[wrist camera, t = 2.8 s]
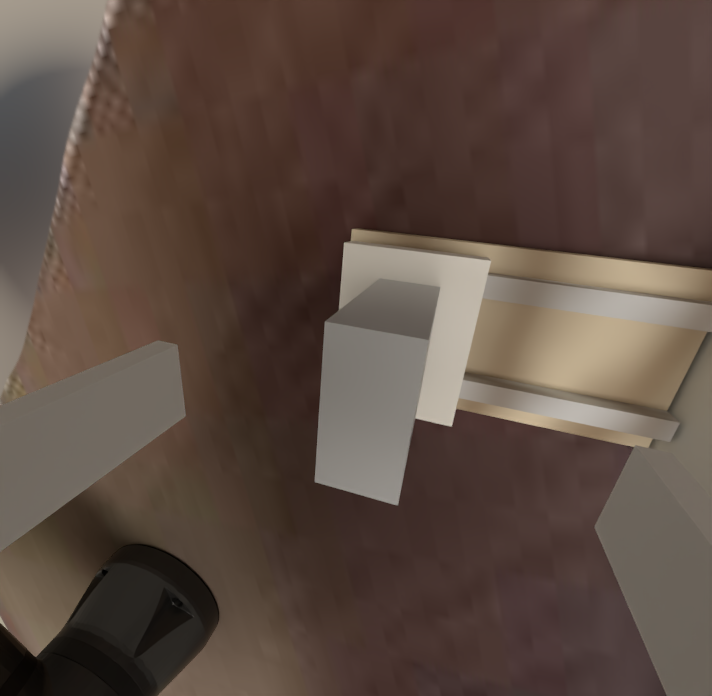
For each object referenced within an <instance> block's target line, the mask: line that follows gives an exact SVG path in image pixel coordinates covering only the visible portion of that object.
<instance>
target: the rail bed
mask: <svg viewBox="0 0 712 696" xmlns="http://www.w3.org/2000/svg"><path fill="white" fill-rule="evenodd" d="M351 241H359V242H367V243H375V244H384V245H392V246H400V247H408V248H416V249H424V250H432V251H440V252H448V253H457V254H465V255H473V256H481V257H488V258H489V259H490V260H491V264H490V268H489V272H488V276H487V281H486V285H485V289H484V293H483V297H482V302H481V306H480V310H479V314H478V318H477V323H476V327H475V331H474V335H473V339H472V344H471V348H470V352H469V356H468V360H467V365H466V369H465V373H464V377H463V381H462V386H461V390H460V394H459V398H458V402H457V406H456V409H460V410H465V411H469V412H474V413H479V414H483V415H488V416H493V417H497V418H502V419H506V420H511V421H516V422H520V423H525V424H530V425H534V426H539V427H544V428H548V429H553V430H557V431H562V432H567V433H571V434H576V435H581V436H585V437H590V438H594V439H599V440H604V441H608V442H613V443H618V444H622V445H627V446H632V447H634V446H635V445H637V446H641V447H646V448H648V447H649V446H650V444H651V442H652V440H653V439H657V440H662V441H667V442H670V441H671V439H672V437H673V435H674V434H675V432H676V430H677V428H678V426H679V424H680V422H679V421H678V420H677V419H675V418H674V417H673V416H672V415H671V414H670V413H669V412H668V411H667V410H668V408H669V406H670V404H671V402H672V400H673V398H674V396H675V394H676V393H677V391H678V389H679V387H680V385H681V383H682V381H683V379H684V377H685V375H686V373H687V371H688V369H689V367H690V365H691V363H692V361H693V359H694V357H695V355H696V353H697V351H698V349H699V347H700V345H701V343H702V341H703V339H704V338H705V336H706V334H707V332H712V269H707V268H699V267H690V266H681V265H673V264H664V263H655V262H647V261H638V260H629V259H621V258H612V257H603V256H594V255H586V254H577V253H568V252H560V251H551V250H542V249H534V248H525V247H516V246H508V245H499V244H490V243H482V242H473V241H464V240H455V239H447V238H438V237H429V236H421V235H412V234H403V233H395V232H386V231H377V230H369V229H360V228H357V229H352V233H351Z"/></svg>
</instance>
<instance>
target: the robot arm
mask: <svg viewBox="0 0 712 696" xmlns="http://www.w3.org/2000/svg"><path fill="white" fill-rule="evenodd" d="M185 416H186V413H185V404H184V396H183V387H182V379H181V370H180V362H179V353H178V345H177V344H172V343H167V342H163V341H155V342H153V343H151V344H148V345H146V346H143V347H141V348H139V349H136V350H134V351H131V352H129V353H126V354H124V355H122V356H119V357H117V358H114V359H112V360H110V361H107V362H105V363H102V364H100V365H98V366H95V367H93V368H90V369H88V370H85V371H83V372H81V373H78V374H76V375H73V376H71V377H69V378H66V379H64V380H61V381H59V382H56V383H54V384H52V385H49V386H47V387H44V388H42V389H40V390H37V391H35V392H32V393H30V394H28V395H25V396H23V397H20V398H18V399H15V400H13V401H11V402H8V403H6V404H3V405H1V406H0V552H1V551H2V550H4V549H5V548H6V547H8V546H9V545H10V544H12V543H13V542H14V541H16V540H17V539H19V538H20V537H21V536H23V535H24V534H25V533H27V532H28V531H29V530H31V529H32V528H34V527H35V526H36V525H38V524H39V523H40V522H42V521H43V520H45V519H46V518H47V517H49V516H50V515H51V514H53V513H54V512H55V511H57V510H58V509H60V508H61V507H62V506H64V505H65V504H66V503H68V502H69V501H70V500H72V499H73V498H75V497H76V496H77V495H79V494H80V493H81V492H83V491H84V490H86V489H87V488H88V487H90V486H91V485H92V484H94V483H95V482H96V481H98V480H99V479H101V478H102V477H103V476H105V475H106V474H107V473H109V472H110V471H111V470H113V469H114V468H116V467H117V466H118V465H120V464H121V463H122V462H124V461H125V460H127V459H128V458H129V457H131V456H132V455H133V454H135V453H136V452H137V451H139V450H140V449H142V448H143V447H144V446H146V445H147V444H148V443H150V442H151V441H152V440H154V439H155V438H157V437H158V436H159V435H161V434H162V433H163V432H165V431H166V430H167V429H169V428H170V427H172V426H173V425H174V424H176V423H177V422H178V421H180V420H181V419H183V418H184V417H185ZM595 530H596V532H597V534H598V537H599V539H600V541H601V544H602V546H603V548H604V551H605V553H606V555H607V558H608V560H609V562H610V565H611V567H612V569H613V572H614V574H615V576H616V579H617V581H618V583H619V586H620V588H621V590H622V593H623V595H624V597H625V600H626V602H627V604H628V607H629V609H630V611H631V614H632V616H633V618H634V621H635V623H636V625H637V628H638V630H639V632H640V635H641V637H642V639H643V642H644V644H645V646H646V649H647V651H648V653H649V656H650V658H651V660H652V663H653V665H654V667H655V670H656V672H657V674H658V677H659V679H660V681H661V684H662V686H663V688H664V691H665V693H666V695H667V696H712V498H711V497H710V496H709V495H708V493H707V492H706V491H705V490H704V489H703V488H702V487H701V486H700V484H699V483H698V482H697V481H696V480H695V479H694V478H693V477H692V475H691V474H690V473H689V472H688V471H687V470H686V469H685V468H684V466H683V465H682V464H681V463H680V462H679V461H678V460H677V459H676V457H675V456H674V455H673V454H672V453H669V452H664V451H659V450H655V449H650V448H646V447H641V446H637V445H635V446H634V448H633V450H632V452H631V454H630V456H629V458H628V460H627V462H626V464H625V466H624V468H623V470H622V472H621V475H620V477H619V479H618V481H617V483H616V485H615V487H614V489H613V491H612V493H611V495H610V497H609V499H608V501H607V503H606V505H605V507H604V509H603V511H602V513H601V515H600V517H599V519H598V521H597V523H596V525H595ZM217 624H218V610H217V606H216V603H215V601H214V599H213V597H212V595H211V593H210V592H209V590H208V589H207V587H206V586H205V585H204V584H203V582H202V581H201V580H200V579H199V578H198V577H197V576H196V575H195V574H194V573H193V572H192V571H191V570H190V569H189V568H187V567H186V566H185V565H183V564H182V563H181V562H179V561H178V560H176V559H175V558H173V557H171V556H170V555H168V554H166V553H164V552H161V551H159V550H157V549H154V548H151V547H147V546H141V545H129V546H125V547H122V548H121V549H119V550H118V551H117V552H116V553H115V554H114V555H113V556H112V557H111V558H110V559H109V560H108V561H107V562H106V563H105V564H104V565H103V566H102V567H101V568H100V569H99V571H98V572H97V574H96V576H95V577H94V579H93V580H92V582H91V584H90V585H89V587H88V588H87V590H86V592H85V593H84V595H83V597H82V598H81V600H80V601H79V603H78V605H77V606H76V608H75V610H74V611H73V613H72V615H71V616H70V618H69V619H68V621H67V623H66V624H65V626H64V627H63V629H62V630H61V631H60V632H59V633H58V635H57V636H56V637H55V638H54V639H53V640H52V641H51V642H50V643H49V644H48V645H47V646H46V647H45V648H44V649H43V650H42V651H41V653H40V654H39V655H38V656H36V657H34V656H33V655H32V654H31V653H30V652H29V651H28V650H27V648H26V647H25V646H24V645H23V644H22V643H20V642H19V641H18V640H17V639H16V638H15V637H14V636H13V635H12V634H11V633H10V632H9V631H8V630H7V629H6V628H5V627H4V626H3V625H2V624H0V696H158V694H159V693H160V692H161V691H162V690H163V689H164V688H165V687H166V686H167V685H168V684H169V683H170V682H171V681H172V680H173V679H174V678H175V677H176V676H177V675H178V674H179V673H180V672H181V671H182V670H183V669H184V668H185V667H186V666H187V665H188V664H189V663H190V662H191V661H192V660H193V659H194V658H195V657H196V656H197V654H198V653H199V652H200V651H201V650H202V649H203V648H204V646H205V645H206V644H207V642H208V640H209V638H210V637H211V635H212V633H213V632H214V630H215V628H216V626H217Z"/></svg>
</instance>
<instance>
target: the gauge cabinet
mask: <svg viewBox="0 0 712 696" xmlns="http://www.w3.org/2000/svg"><path fill="white" fill-rule="evenodd" d="M667 411H668V412H669V413H670V414H671V415H672V416H673V417H674V418H675V419H677V420H678V421H679V422H680V424H679V426H678V428H677V430H676V432H675V434H674V435H673V437H672V439H671V441H670V442H667V441H662V440H657V439H653V440H652V442H651V444H650V446H649V447H648V448H650V449H655V450H659V451H664V452H669V453H672V454H673V455H674V456H675V457H676V459H677V460H678V461H679V462H680V463H681V464H682V465H683V466H684V468H685V469H686V470H687V471H688V472H689V473H690V474H691V475H692V477H693V478H694V479H695V480H696V481H697V482H698V483H699V484H700V486H701V487H702V488H703V489H704V490H705V491H706V492H707V493H708V495H709V496H710V497H711V498H712V332H707V334H706V336H705V338H704V339H703V341H702V343H701V345H700V347H699V349H698V351H697V353H696V355H695V357H694V359H693V361H692V363H691V365H690V367H689V369H688V371H687V373H686V375H685V377H684V379H683V381H682V383H681V385H680V387H679V389H678V391H677V393H676V394H675V396H674V398H673V400H672V402H671V404H670V406H669V408H668V410H667Z"/></svg>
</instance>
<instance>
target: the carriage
mask: <svg viewBox="0 0 712 696" xmlns="http://www.w3.org/2000/svg"><path fill="white" fill-rule="evenodd" d="M490 264H491V260H490V259H489V258H488V257H481V256H473V255H465V254H457V253H448V252H440V251H432V250H424V249H416V248H408V247H400V246H392V245H384V244H375V243H367V242H359V241H348V242H344V250H343V263H342V276H341V289H340V301H339V311H338V312H336V313H335V314H334V315H333V316H331V317H330V318H329V319H327V320H326V321H325V327H324V343H323V358H322V374H321V390H320V406H319V421H318V437H317V453H316V468H315V482H316V483H320V484H323V485H327V486H330V487H334V488H338V489H341V490H345V491H348V492H352V493H355V494H359V495H362V496H366V497H369V498H373V499H376V500H380V501H383V502H387V503H390V504H394V505H397V506H398V502H399V497H400V492H401V487H402V482H403V477H404V472H405V467H406V462H407V457H408V452H409V447H410V442H411V437H412V432H413V427H414V422H415V418H416V419H420V420H425V421H429V422H433V423H438V424H442V425H447V426H451V427H452V423H453V419H454V415H455V411H456V406H457V402H458V398H459V394H460V390H461V386H462V381H463V377H464V373H465V369H466V365H467V360H468V356H469V352H470V348H471V344H472V339H473V335H474V331H475V327H476V323H477V318H478V314H479V310H480V306H481V302H482V297H483V293H484V289H485V285H486V281H487V276H488V272H489V268H490Z"/></svg>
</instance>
